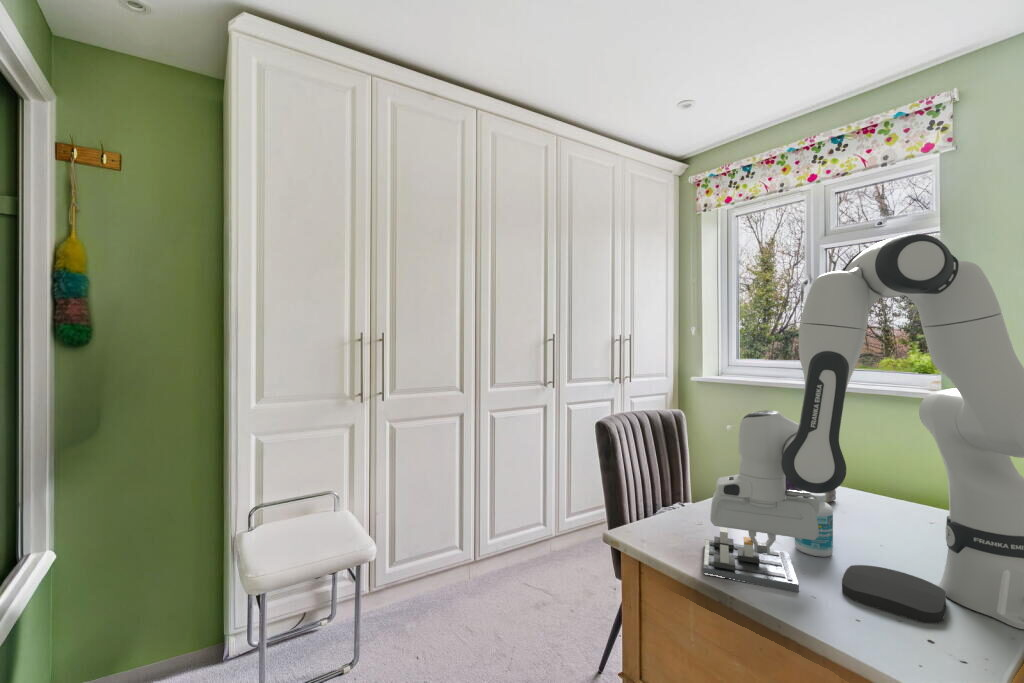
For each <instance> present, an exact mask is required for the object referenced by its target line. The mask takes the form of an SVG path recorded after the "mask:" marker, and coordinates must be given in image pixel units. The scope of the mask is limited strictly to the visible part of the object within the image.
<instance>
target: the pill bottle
mask: <svg viewBox="0 0 1024 683" xmlns="http://www.w3.org/2000/svg"><path fill="white" fill-rule="evenodd" d="M802 492H806V491H803V490H802ZM809 493H810V492H809ZM811 495H814V496H815V497H817V499H818V500H819V512H818V513H817V514H816V517H817V522H818V530H819V536H818V537H817V538H816V539H815V540H809V539H802V538H795V537H794V546H795V548H796V549H797V550H798V551H799V552H801V553H804V554H806V555H809V556H813V557H819V558H820V557H821V558H825V557H826V558H827V557H829V556H831V555H833V552H834V550H833V549H834V544H833V543H834V539H833V538H834V512H833V507H832V505H830V504H829V503H825V502H824V501H825V500H826V494H825V493H811ZM811 498H813V497H811Z"/></svg>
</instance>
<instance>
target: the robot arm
mask: <svg viewBox="0 0 1024 683" xmlns="http://www.w3.org/2000/svg"><path fill="white" fill-rule="evenodd" d="M809 288H810V289H809V291H808V294H807V296H806V300H805V303H804V306H803V310H802V314H801V319H800V324H799V329H798V357H799V361H800V364H801V369H802V373H803V378H804V394H803V400H802V407H801V413H800V420H799V423H798V422H796V421H794V420H793V419H790V418H788V417H787V416H785V415H784V414H782V413H781V412H780V411H777V410H759V411H758V410H757V411H753V412H750V413H748V414H746V415H744V416H743V418H742V419H741V421H740V424H739V430H738V431H739V432H738V453H739V457H740V464H739V466H738V473H737V474H733V475H728V476H727V475H726V476H721V477H719V478H717V481H716V490H715V491H714V493H713V495H712V500H711V505H710V506H711V507H710V518H709V520H710V523H711V524H712V525H713V526H714V527H719V528H720V527H725V528H728V529H734V530H739V531H740V530H741V531H748V533H747V534H748V537H749V538H751V540H752V542H753V547H754V551H755V552H757V553H763V554H769V555H770V549H771V547H772V546H773V544H774V543H775V542H776V539H777V537H776V536H781V537H790V538H794V539H795V538H802V539H809V540H815V539H816V538H817V537H818V536H819V530H818V522H817V517H816V514H817V513H818V512H819V500H818V499H817V497H815V496H814V495H811V493H826V492H830V491H832V490H834V489H835V490H836V489H837V488H838V487H840V486H841V485H842V484H843V483H844V481H845V478H846V475H847V463H846V460H845V457H844V454H843V451H842V449H841V447H840V433H841V432H840V431H841V423H842V417H843V413H844V412H843V411H844V402H845V397H846V391H847V390H848V386H849V383H850V380H851V378H852V376H853V373H854V370H855V368H856V365H857V364H858V361H859V359H860V356H861V354H862V351H863V350H862V349H863V347H864V344H865V339H866V337H867V336H866V335H867V329H868V325H869V324H868V323H869V314H870V313H871V310H872V308H873V306H874V305H875V303H876V302H877V301H878V300H881V299H893V298H899V297H903V296H905V297H907V298H908V299H909V300H910V301H911V302H912V303H913V305H914V306H915V308H916V310H917V311H918V317H919V320H920V323H921V324H920V325H921V327H922V328H921V329H922V332H923V335H924V338H925V341H926V342H925V343H926V346H927V350H928V353H929V356H930V357H929V358H930V360H931V363H932V365H933V366H934V367H935V368H936V369H937V370H938V371H939V372H941V373H942V374H944V376H946V378H948V379H949V381H950V382H951V383H952V384H953V385H954V387H955V388H946V389H940V390H935V391H932V392H930V393H928V394H927V395H926V396H925V397H924V398H923V399H922V401H921V402H920V405H919V409H918V415H919V419H920V421H921V423H922V425H923V426H924V427H925V428H926V430H928V431H929V432H930V434H931V436H932V437H933V438H934V441H935V442H936V446H937V447H938V450H939V453H940V456H941V459H942V461H943V464H944V467H945V472H946V475H947V482H948V484H947V485H948V502H949V504H948V508H949V510H948V511H949V514H948V516H946V522H945V523H946V524H945V541H946V546H947V556H946V560H945V561H946V562H945V566H944V571H943V574H942V577H941V580H940V581H939V584H938V587H940V588H942V589H943V590H944V591H945V592H946V598H948V599H950V600H951V601H953V602H955V603H957V604H959V605H961V606H963V607H965V608H968V609H970V610H973V611H975V612H978V613H981V614H983V615H986V616H989V617H991V618H994V619H996V620H999V621H1000V622H1002V623H1004V624H1007V625H1009V626H1011V627H1014V628H1016V629H1019V630H1020V629H1021V630H1024V476H1022V475H1021V473H1020V472H1019V471H1018V469H1017V468H1016V467H1015V465H1014V462H1013V461H1012V458H1011V457H1013V458H1020V459H1024V366H1023V364H1022V362H1021V361H1020V360H1019V357H1018V356H1017V354H1016V352H1015V349H1014V348H1013V343H1012V341H1011V339H1010V335H1009V331H1008V329H1007V326H1006V322H1005V320H1004V316H1003V313H1002V309H1001V306H1000V304H999V301H998V300H999V299H998V298H997V295H996V293H995V290H994V289H993V286H992V284H991V283H990V281H989V279H988V277H987V276H986V274H985V272H984V271H983V269H982V267H980V266H979V265H978V264H976V263H974V262H972V261H971V262H970V261H968V260H967V261H966V260H958V258H957V257H956V256H954V255H953V254H952V253H951V251H950V250H949V248H948V247H947V246H946V245H945V243H944V242H942V241H941V240H940V239H938V238H936V237H934V236H932V235H929V234H924V233H923V234H922V233H907V234H901V235H898V236H896V237H893V238H888V239H885V240H882V241H879V242H876V243H875V244H873V245H871V246H870V247H868V248H866V249H863V250H861V251H859V252H858V253H857V254H855V255H853V257H852V258H850V260H849V261H848V262H847V264H846V265H845V266H844V267H843V268H842V269H841V270H836V271H835V270H834V271H829V272H826V273H823V274H821V275H819V276H818V277H816V278H815V279H814V281H812V283H811V286H810V287H809ZM786 478H787V479H788V480H789V481H790V482H791V483H792V484H793V485H794V486H796V487H797V488H799V489H801V490H803V491H806V492H799V491H793V490H786ZM809 492H810V493H809ZM811 497H813V498H811ZM757 533H761V534H767V540H766V541H765V542H760V541H758V540H757V538H756V537H757Z"/></svg>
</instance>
